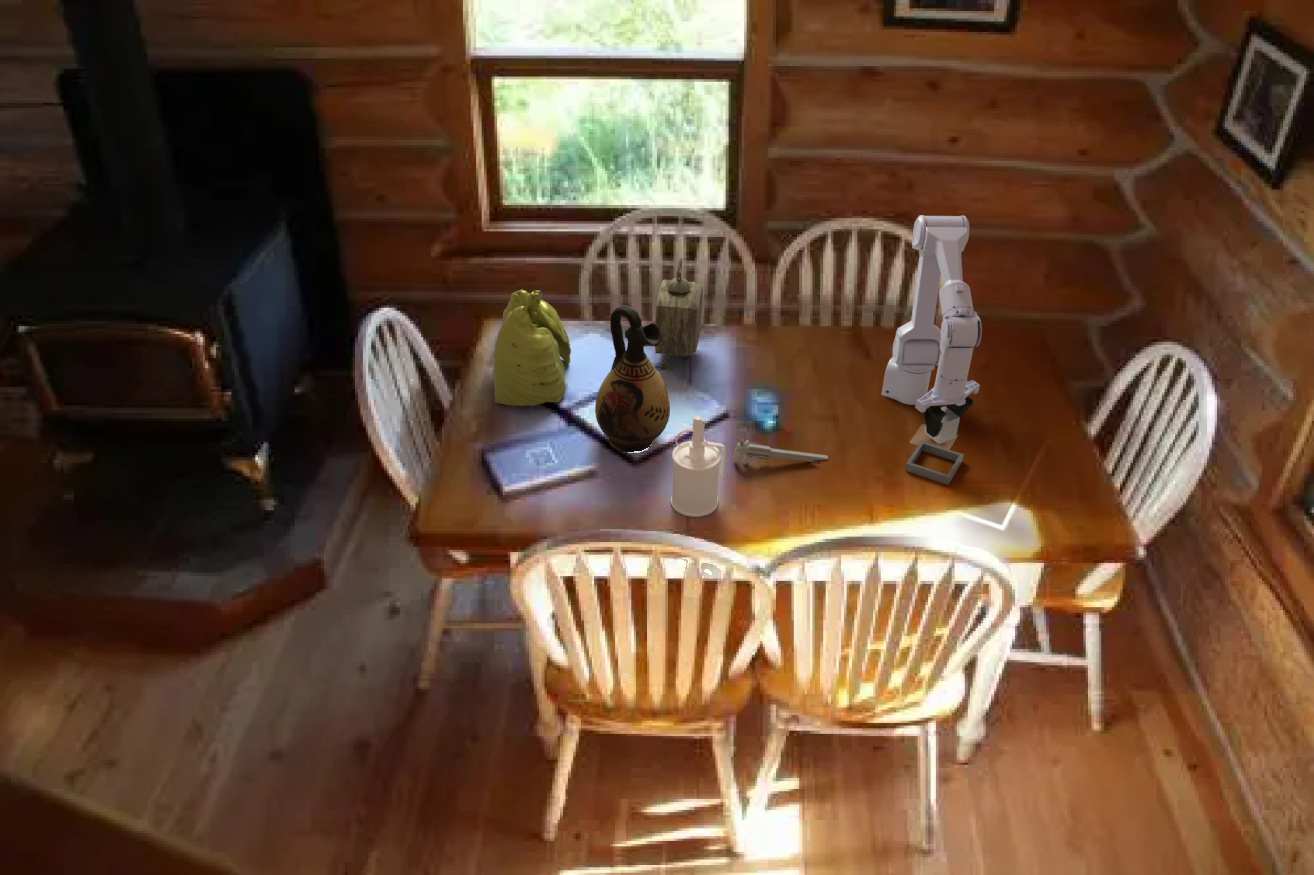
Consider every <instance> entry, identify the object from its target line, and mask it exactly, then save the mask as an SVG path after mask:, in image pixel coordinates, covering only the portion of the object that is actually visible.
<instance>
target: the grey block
mask: <svg viewBox="0 0 1314 875" xmlns="http://www.w3.org/2000/svg"><path fill="white" fill-rule="evenodd" d="M940 407H941V410H943V411H944V412H945V413H947V414H946V415H945V416H944V417H943V419H942V421H941V423H940V426H939V430H938V433H937V435H936V437H932V436H931V435H929V434H928V433H927V431H926V424H924V425H925V430H924V433H925V434H926V435H928V436H929V437H930V438H932V439H933V440H934V441H935V442H937V443H938V444H941V443H943V442H946V441H949V440H951V439H954V438H956V435H958V434H957V433H958V428H959V424H960V421H961V419H960V417H959V416H958V415H956V414H955V413H954V412H952V411H951V410H950V409H948V408H947V405H943V406H940Z"/></svg>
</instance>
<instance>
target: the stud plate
mask: <svg viewBox="0 0 1314 875" xmlns="http://www.w3.org/2000/svg"><path fill="white" fill-rule="evenodd" d="M925 425H926V424H923V423H921V425H920V426H919V427H918V429H917V431H915V433H914V435H913V437H912V438H911V439H910V441H909V444H911V445H915V446H916V447H917V446H918V445H919V443H920V442H921V441H924V442H927V443H930V444H933V445H936V446H939V447H942V448H945V449H949V450H951V448H952V447H953V445H954V443H955V442H956V440H957V438H958V437H959V434H956V438H954V439H951V440H949V441H946V442H943V443H941V444H938V443H937V442H935V441H934V440H933V439H932V438H930V437H929V436H928V435H926V434H925V433H924V430H925Z"/></svg>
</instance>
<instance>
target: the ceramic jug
mask: <svg viewBox="0 0 1314 875" xmlns="http://www.w3.org/2000/svg"><path fill="white" fill-rule="evenodd" d="M622 318H626V319H627V321H628V323H629V327H628V328H627V329H626V330H625V331H624V332H623V327H622V323H621V322H622ZM609 320H610V333H611V337H612V338H611V339H612V344H613V348H614V352H615V357H614V358H613V361H612V364H611V368H610V371H609V372H608V373H607V375H606V376H605V377H604V379H603V381H602V383H601V384H600V387H599V389H598V391H597V392H598V393H597V396H596V400H595V404H594V405H595V407H594V411H595V412H594V413H595V419H596V422H597V425H598V426H599V428H600V430H601V431H602V433H603V434H604V436H606V437H607V439H608V442H609V444H610V446H611V447H612V448H614V450H616V451H618V452H620V453H621V454H623V453H622V452H626V453H627V452H634V451H642V450H644V449H646V448H648V447H650V445H651V444H652V442H653V443H654V441H655V440H656V439H657V438H659V437H660V436H661V435H662V434H663V432H664V431H665V429H666V427H667V425H668V423H669V420H670V416H671V415H670V414H671V404H670V398H669V392H668V389H667V386H666V384H665V382H664V379H663V378H662V376H661V374H660V373H659V371H658V370H657V368H656V366H655V365H654V364H653V363H652V362H651V360H650V359H649V358H648V356H647V354H646V352H645V349H644V348H645V347H655V346H659V345H660V344H661V343H662V340H663V339H662V335H661V332H660V329H659V328H658V327H657V325H656V324H655V322H654V323H653V322H652V323H649V324H646V325H644V326H642V322H643V321H642V318H641V316H640V314H639V312H638V311H637V310H636V309H635V308H634V307H632V306H629V305H626V304H624V305H620V306H618V307H616V308H615V309H614V310H613V311H612V313H611V314H610V318H609ZM624 338H626V339H627V347H626V342H625V340H624ZM652 445H653V444H652ZM650 448H651V447H650Z"/></svg>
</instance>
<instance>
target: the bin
mask: <svg viewBox="0 0 1314 875" xmlns="http://www.w3.org/2000/svg"><path fill="white" fill-rule="evenodd" d="M922 452H925V453H928V454H931V455H934V456H937V457H940V458H943V459H945V460H950V461H953V462H954V464H953V465H952V467H951V469H950V470H949V472H948V474H946V473H944V472H941V471H936V470H934V469H931V468H928V467H925V466H922V465H919V464H916V463H915V462H916V461H917V459H918V458H919V456H920V455H921V454H922ZM964 456H965V454H964V453H961V452H957V451H954V450H951V449H950V450H949V449H945V448H942V447H939V446H936V445H933V444H930V443H927V442H924V441H921V442H920V443H919V445H918V446H917V445H916V448H915V450H914V451H913V452H912V454H911V456H910V457H909V458H908V459H907V461H906V463H905V468H904V471H905V472H908V473H911V474H913V475H916V476H919V477H923V478H926V479H929V480H932V481H935V482H937V483H940V484H944V485H946V486H947V485H948V486H949V484H950V483H951V481H952V479H954V476H955V475H956V473H957V472H958V469H959V468H960V466H961V465H962V462H963V460H964Z"/></svg>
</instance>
